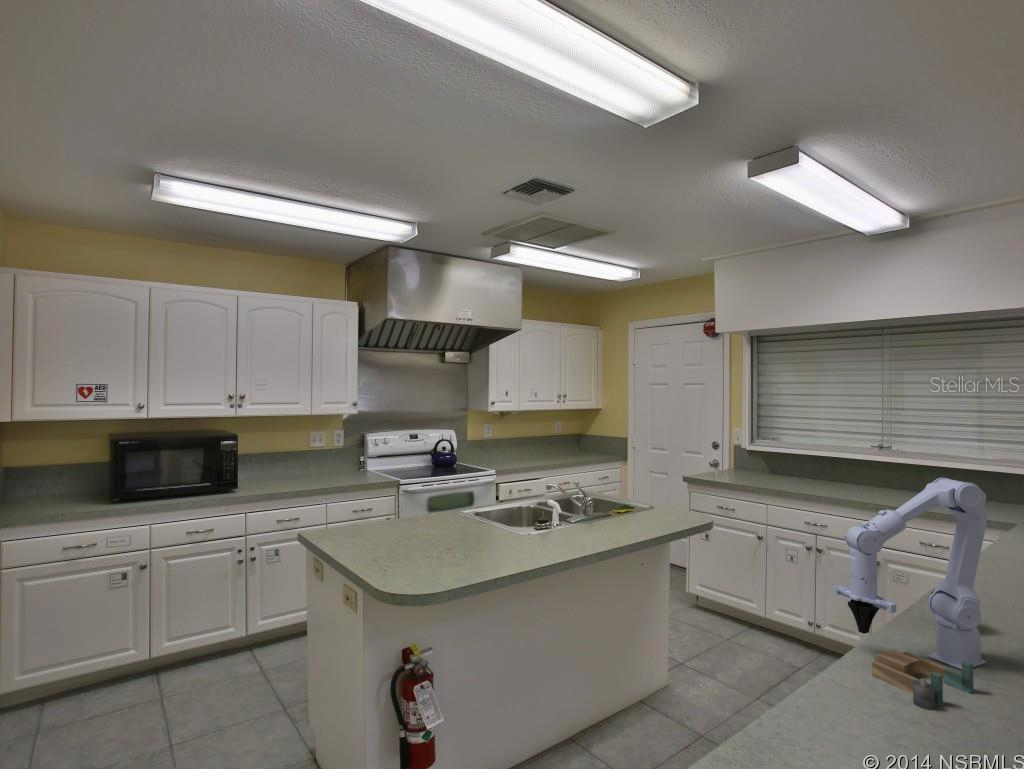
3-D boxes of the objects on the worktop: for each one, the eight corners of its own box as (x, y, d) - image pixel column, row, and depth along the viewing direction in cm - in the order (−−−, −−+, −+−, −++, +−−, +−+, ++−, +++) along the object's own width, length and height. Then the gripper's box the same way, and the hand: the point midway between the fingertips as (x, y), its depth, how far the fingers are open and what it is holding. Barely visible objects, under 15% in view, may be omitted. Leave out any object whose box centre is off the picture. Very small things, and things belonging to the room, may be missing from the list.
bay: (906, 664, 136) (905, 639, 137) (975, 692, 123) (974, 664, 124) (859, 679, 129) (859, 652, 129) (928, 711, 116) (927, 681, 116)
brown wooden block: (892, 666, 136) (892, 649, 136) (919, 677, 130) (919, 659, 131) (877, 671, 133) (877, 654, 133) (904, 683, 128) (904, 665, 128)
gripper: (825, 570, 144) (825, 623, 144) (883, 588, 131) (883, 646, 131) (843, 566, 147) (843, 619, 147) (901, 583, 134) (902, 641, 134)
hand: (863, 632), depth 139 cm, fingers closed
